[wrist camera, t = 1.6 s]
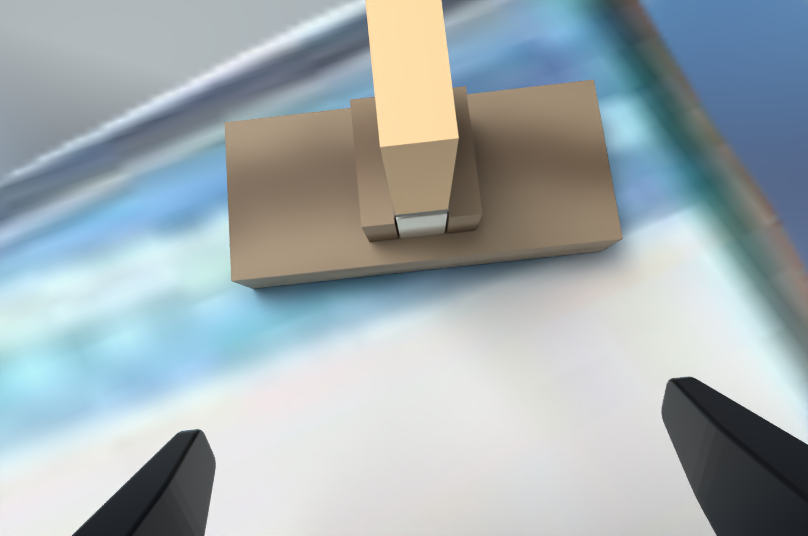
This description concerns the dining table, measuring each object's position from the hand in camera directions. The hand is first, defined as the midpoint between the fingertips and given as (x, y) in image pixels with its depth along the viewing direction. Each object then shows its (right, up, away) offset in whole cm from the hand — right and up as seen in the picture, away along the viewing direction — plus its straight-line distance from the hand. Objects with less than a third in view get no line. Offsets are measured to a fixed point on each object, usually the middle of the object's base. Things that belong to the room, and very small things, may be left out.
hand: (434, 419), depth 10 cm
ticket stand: (0, +6, +14) cm, 15 cm away
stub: (0, +7, +8) cm, 11 cm away
